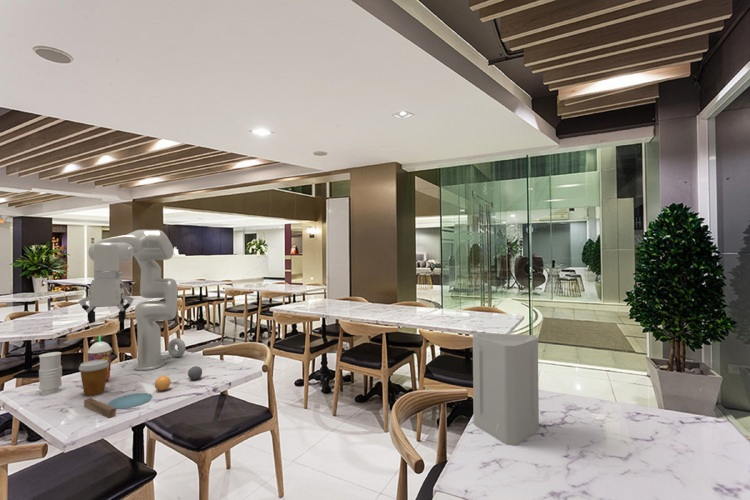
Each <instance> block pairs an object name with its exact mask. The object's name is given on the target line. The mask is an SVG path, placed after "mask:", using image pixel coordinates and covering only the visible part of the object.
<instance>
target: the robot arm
mask: <svg viewBox="0 0 750 500" xmlns="http://www.w3.org/2000/svg"><path fill="white" fill-rule="evenodd" d="M87 253H88V256H89V259H90V260H92V262H93V279H92V280H91V283H90V288H89V293H88V296H86V297H84V298H82V299H80V300H78V303H79V305H80V306H81V308H82V309H83V310H84V311H85V313H87V322H88V324H93V323H96V311H95V309H96V308H105V307H106V308H108V307H109V308H110V307H116V308H117V309H118V310H119V311H118V323H122V322H124V321H125V320H126V317H127V315H126V314H127V313H126V311H127V310H128V309H129V308H130V307H131V306H132V304H133V301H134V298H133V297H131V296H128V295H126V294H125V288H124V283H123V279H122V278H120V277H123V276H124V272H122V271H121V272H120V265H119V263H120V262H121V263H123V262H128V261H130V260H131V259H132V258H133V257H134V259H135V260H136V261H137V263H138V266H139V267H140V284H139V285H140V286H139V293H140V296H141V297H142V298H143V299H165V300H146V301H142V302H139V303H138V304H137V305H136V306H135V308H134V316H135V319H136V327H137V329H136V330H137V364H135V365H134V366H133V369H134V370H135V371H152V370H156V369H159V368H162V367H163V366H165V361H166V360H168V359H171V357H172V356H171V355H170V354H161V353H162V351H161V350H162V348H161V347H162V345H161V341H162V338H161V335H162V333H161V331H162V330H161V327H160V326H159V324H158V323H157V321H158V322H159V321H171V320H174V319H175V318H176V316H177V310H178V283H177V281H176V280H175V279H173V278H162V268H161V265H159V263H158V262H156V261H157V260H158V261H163V260H164V261H167V260H168V261H169V260H170V259H172V258H173V256H174V247H173V244H172V243H171V241H170V239H169V237H168V236H167V234H166V233H165V232H164V231H162V230H160V229H136V230H133V231H132V232H130V233H127V234H125V235H118V236H113V237H108V238H103V239H99V240H97V241H95V242H93V243H92V244H91V245H90V246H89V248H88V252H87ZM126 301H127V303H126V304H125V302H126ZM87 302H88V304H89V305H88V304H87Z"/></svg>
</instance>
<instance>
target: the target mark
mask: <svg viewBox="0 0 750 500" xmlns="http://www.w3.org/2000/svg"><path fill="white" fill-rule="evenodd" d="M152 399H153V394H151V393H147V392H138V393H137V392H136V393H130V394H125V395H121V396H119V397H117V398H114V399H112V400H110V401H109V402H108V403H107V405H109V406H111V407H114V408H116V410H121V409H122V410H123V409H128V408H133V407H138V406H141V405H143V404H146V403H147V402H149V401H151V400H152Z"/></svg>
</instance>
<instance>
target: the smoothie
mask: <svg viewBox="0 0 750 500" xmlns="http://www.w3.org/2000/svg"><path fill="white" fill-rule="evenodd" d="M101 337H102V336H101V334H100V335H98V341H97V342H95V343H92V345H91V346H90V347H89V349H88V351H87V352H86V353H87V361H92V360H102V359H104V360H107V361H108V363H109V365H108V367H107V374H106V382H105V383H107V382H109V379H110V377H111V370H110V369H111V363H112V349H113V348H112V346H110V344H109V343H108V342H105V341H102V339H101Z"/></svg>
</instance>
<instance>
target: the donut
mask: <svg viewBox="0 0 750 500" xmlns="http://www.w3.org/2000/svg"><path fill="white" fill-rule="evenodd" d="M176 346H177V347H178V348H177V349H176ZM186 348H187V347H186V343H185V341H184V340H183V339H182V338H178V337H176V338H173V339H171V340H170V341H169V342H168V345H167V351H168V353H169V354H170V355H171V357H172V358H173V357H174V358H180V357H182V356H183V355H184V354H185V352H186ZM169 354H168V355H169Z"/></svg>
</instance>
